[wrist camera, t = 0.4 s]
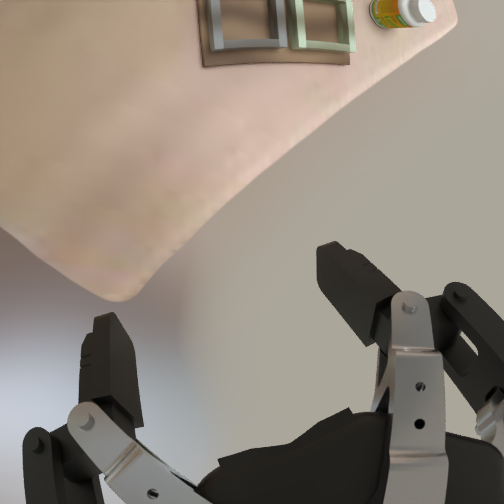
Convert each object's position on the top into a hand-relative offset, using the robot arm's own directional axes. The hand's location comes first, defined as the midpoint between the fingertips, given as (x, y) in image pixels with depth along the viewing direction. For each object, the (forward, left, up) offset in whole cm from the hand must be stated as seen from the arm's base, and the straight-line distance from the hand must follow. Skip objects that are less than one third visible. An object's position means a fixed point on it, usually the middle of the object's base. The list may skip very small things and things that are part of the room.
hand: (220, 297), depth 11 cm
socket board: (-15, +16, -28) cm, 36 cm away
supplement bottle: (-19, +34, -28) cm, 48 cm away
